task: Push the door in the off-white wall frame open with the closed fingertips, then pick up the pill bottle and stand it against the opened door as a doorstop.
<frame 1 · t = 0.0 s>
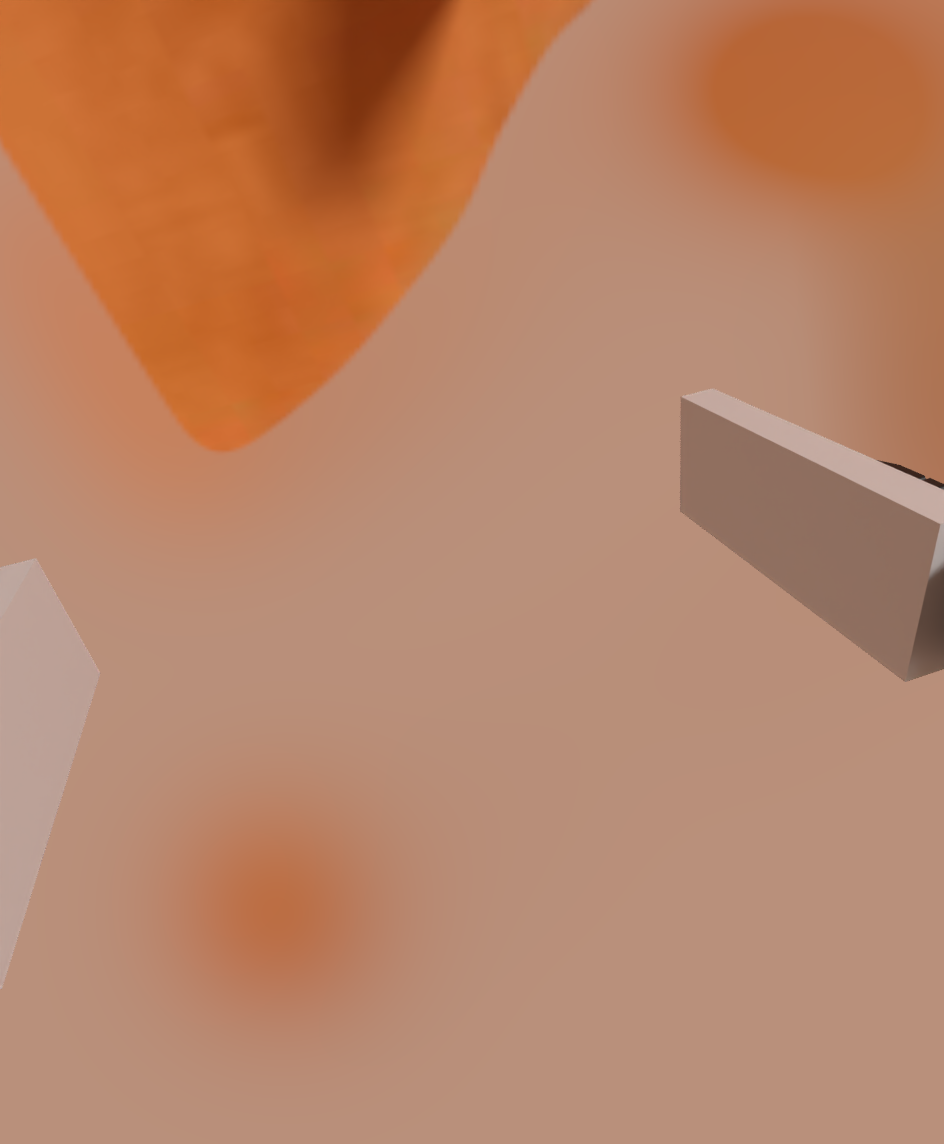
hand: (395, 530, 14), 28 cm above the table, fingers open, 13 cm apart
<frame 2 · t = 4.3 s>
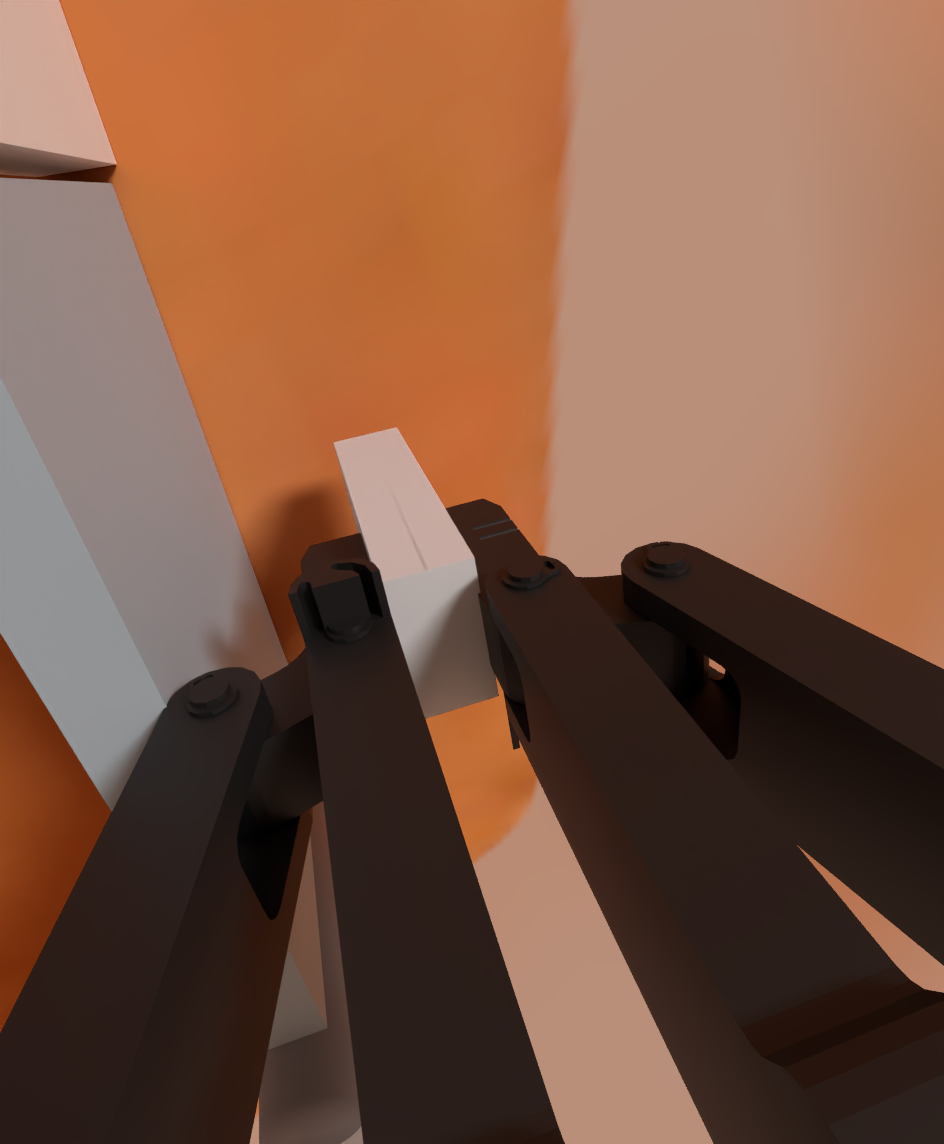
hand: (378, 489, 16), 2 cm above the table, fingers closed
wall frame: (287, 720, 21), on the table
door: (173, 650, 13), point 5 cm above the table, hinge at 0.3°, touching gripper, hand
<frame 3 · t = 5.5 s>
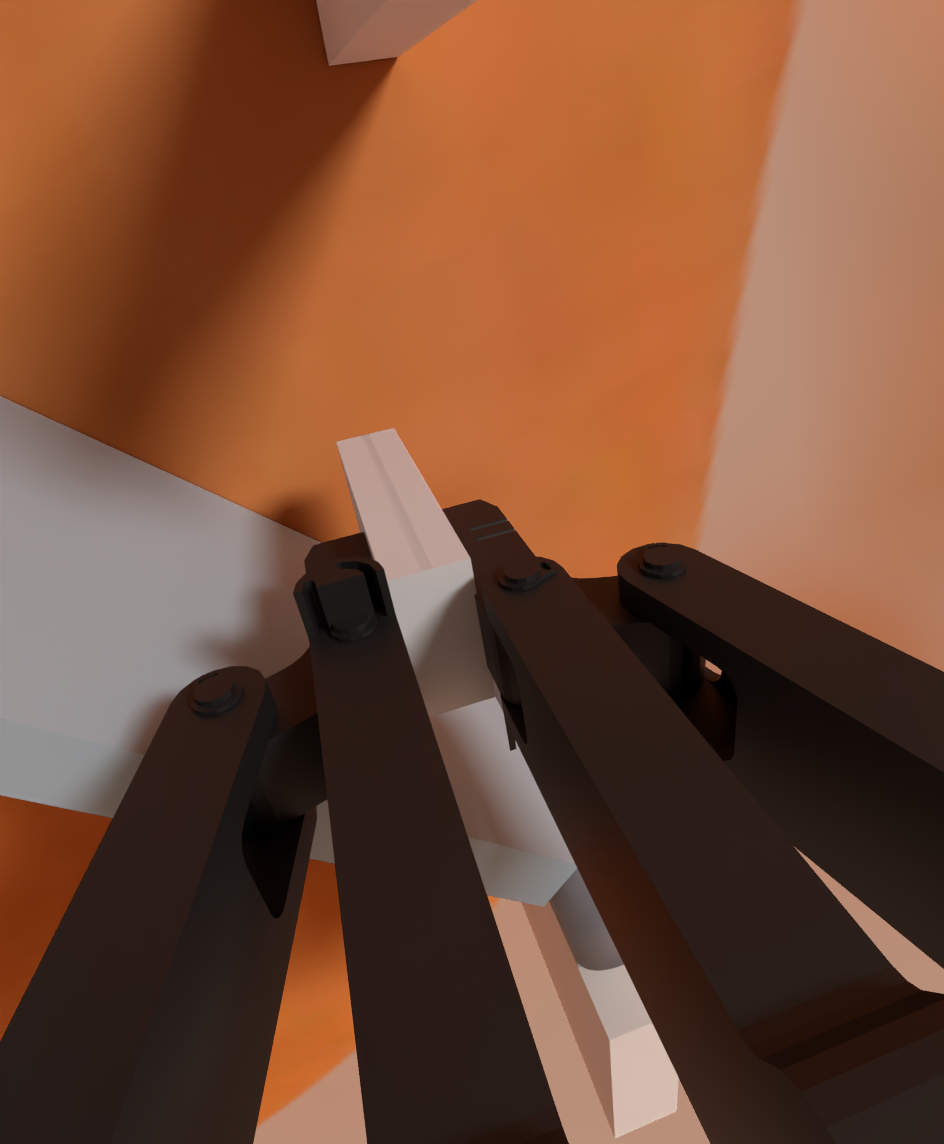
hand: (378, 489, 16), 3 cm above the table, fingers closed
wall frame: (461, 626, 22), on the table
door: (265, 671, 15), point 5 cm above the table, hinge at 46.9°, touching gripper, hand
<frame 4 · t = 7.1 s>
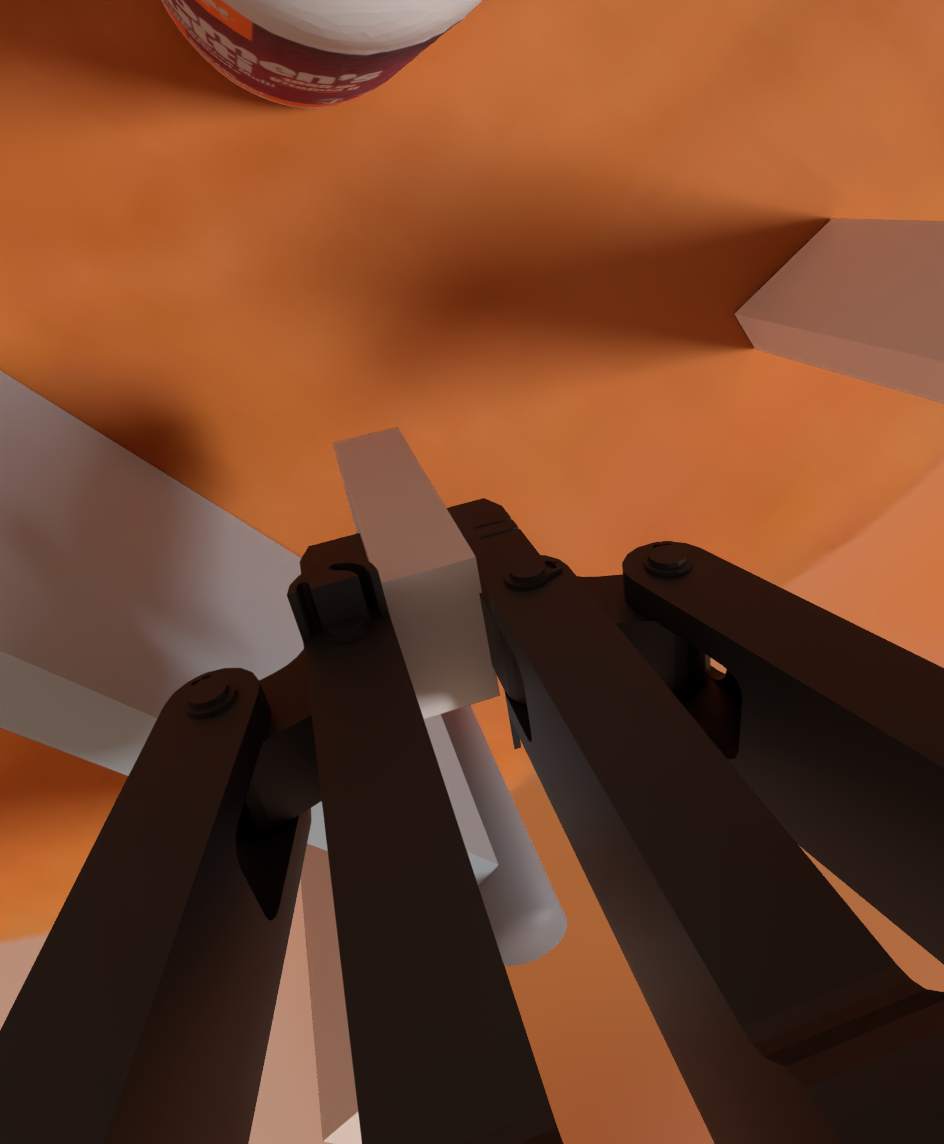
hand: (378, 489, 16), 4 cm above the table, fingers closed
wall frame: (416, 649, 24), on the table
door: (233, 661, 16), point 5 cm above the table, hinge at 94.7°
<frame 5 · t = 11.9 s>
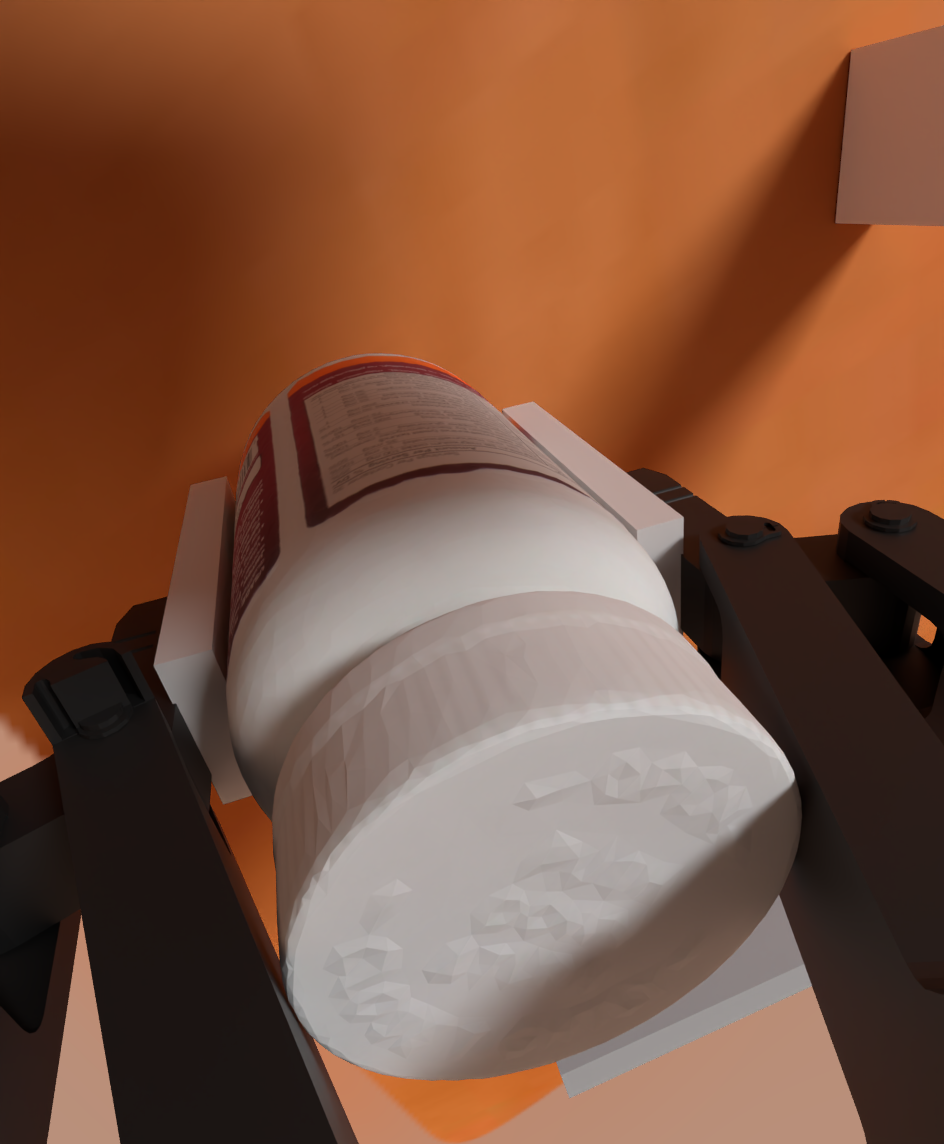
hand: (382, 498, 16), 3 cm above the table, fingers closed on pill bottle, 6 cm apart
wall frame: (813, 645, 27), on the table
door: (741, 829, 21), point 5 cm above the table, hinge at 94.7°
pill bottle: (377, 480, 16), point 3 cm above the table, touching gripper
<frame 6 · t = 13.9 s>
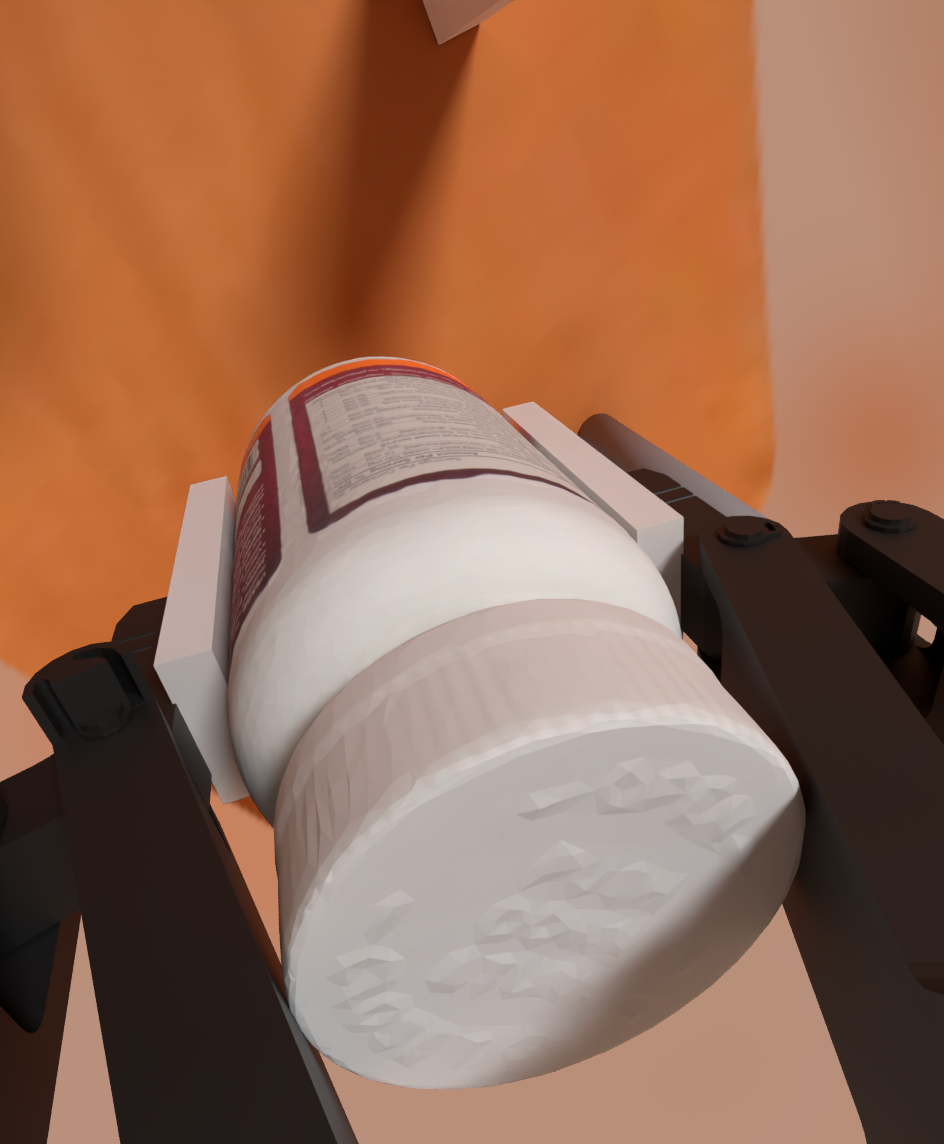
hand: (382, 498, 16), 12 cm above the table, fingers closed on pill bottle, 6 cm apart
wall frame: (597, 434, 30), on the table
door: (508, 588, 26), point 5 cm above the table, hinge at 94.7°
pill bottle: (378, 483, 16), point 11 cm above the table, touching gripper
when the fingers open (1 cm above the table, at t = 16.0 s): pill bottle drops 1 cm, on the table.
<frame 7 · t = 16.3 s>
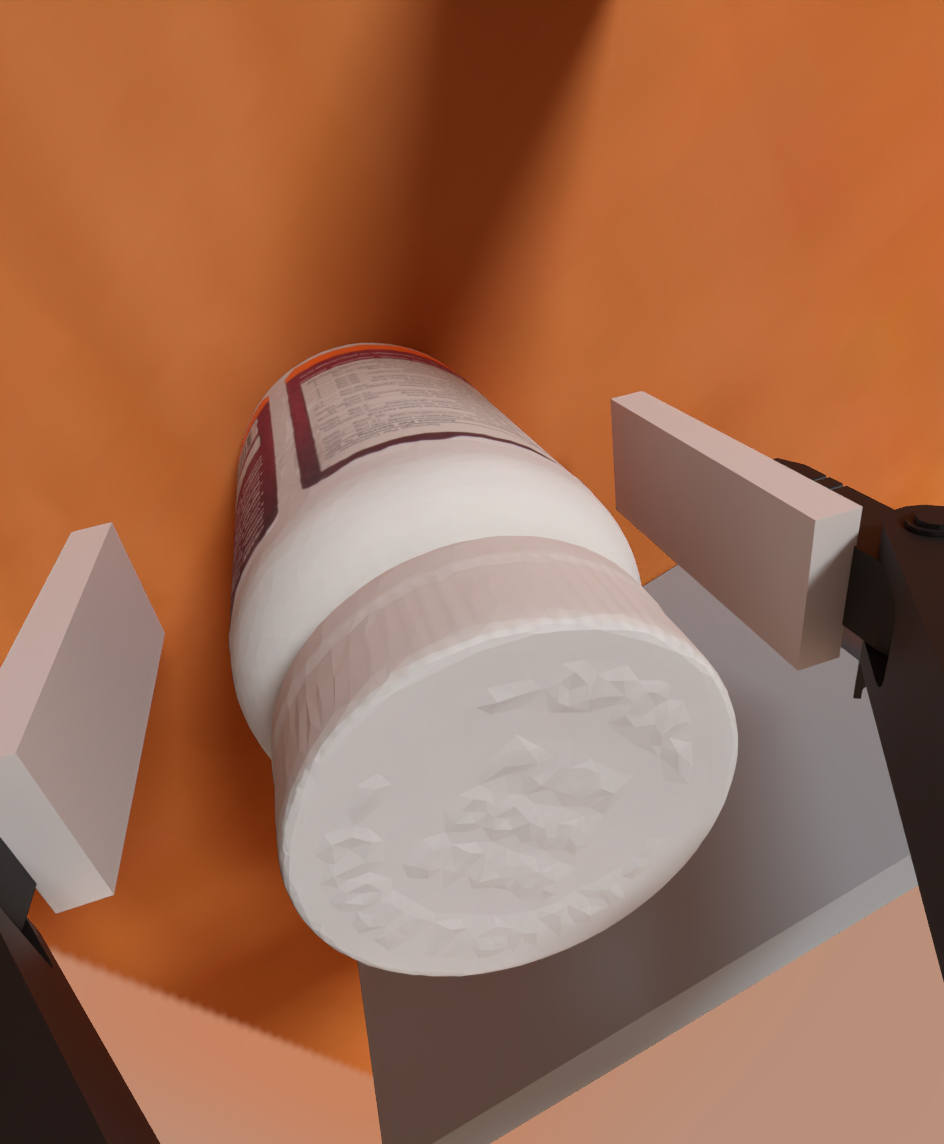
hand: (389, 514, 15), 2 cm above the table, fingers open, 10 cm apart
door: (644, 800, 17), point 5 cm above the table, hinge at 94.7°
pill bottle: (370, 464, 17), on the table
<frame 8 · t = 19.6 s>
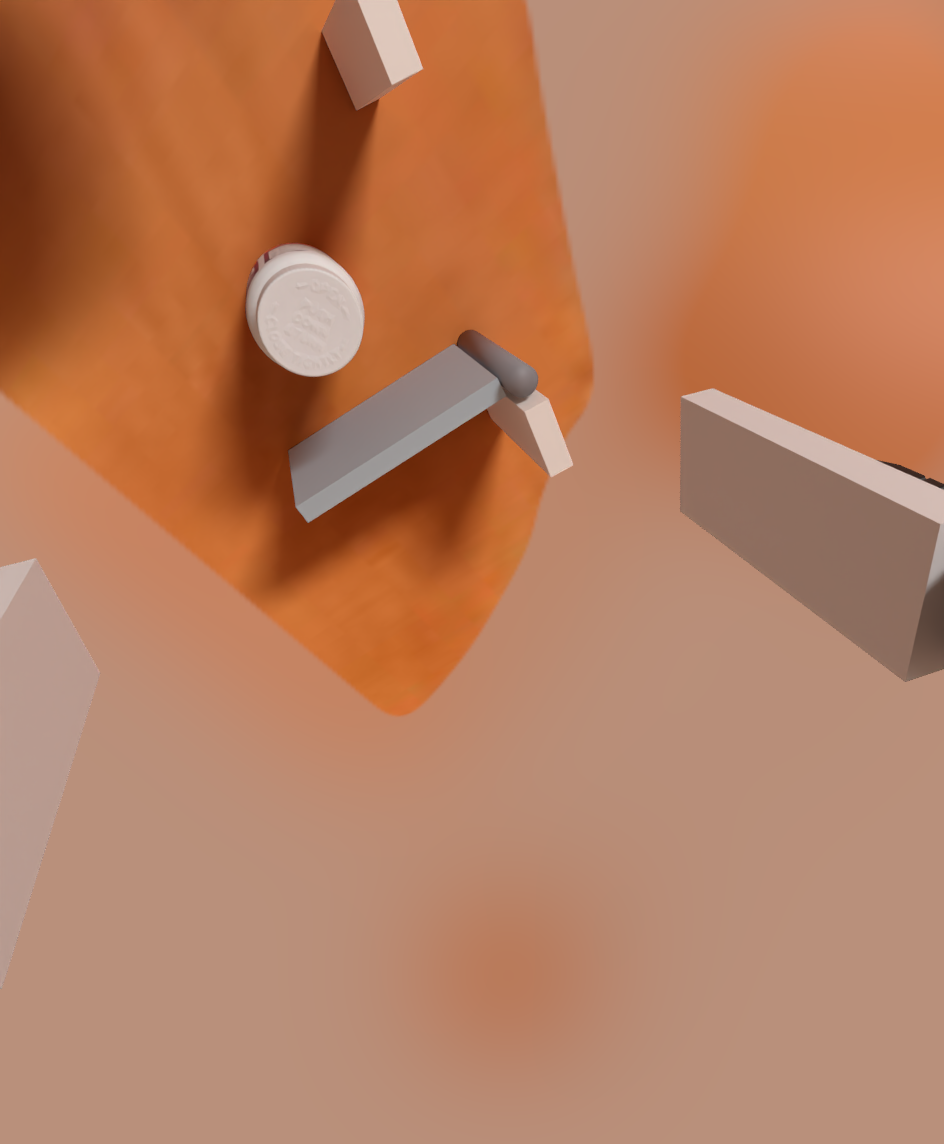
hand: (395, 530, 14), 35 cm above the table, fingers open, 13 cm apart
wall frame: (470, 343, 48), on the table
door: (404, 425, 43), point 6 cm above the table, hinge at 94.7°
pill bottle: (298, 294, 44), on the table
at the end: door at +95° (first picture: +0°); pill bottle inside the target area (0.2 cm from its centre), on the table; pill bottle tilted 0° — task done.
